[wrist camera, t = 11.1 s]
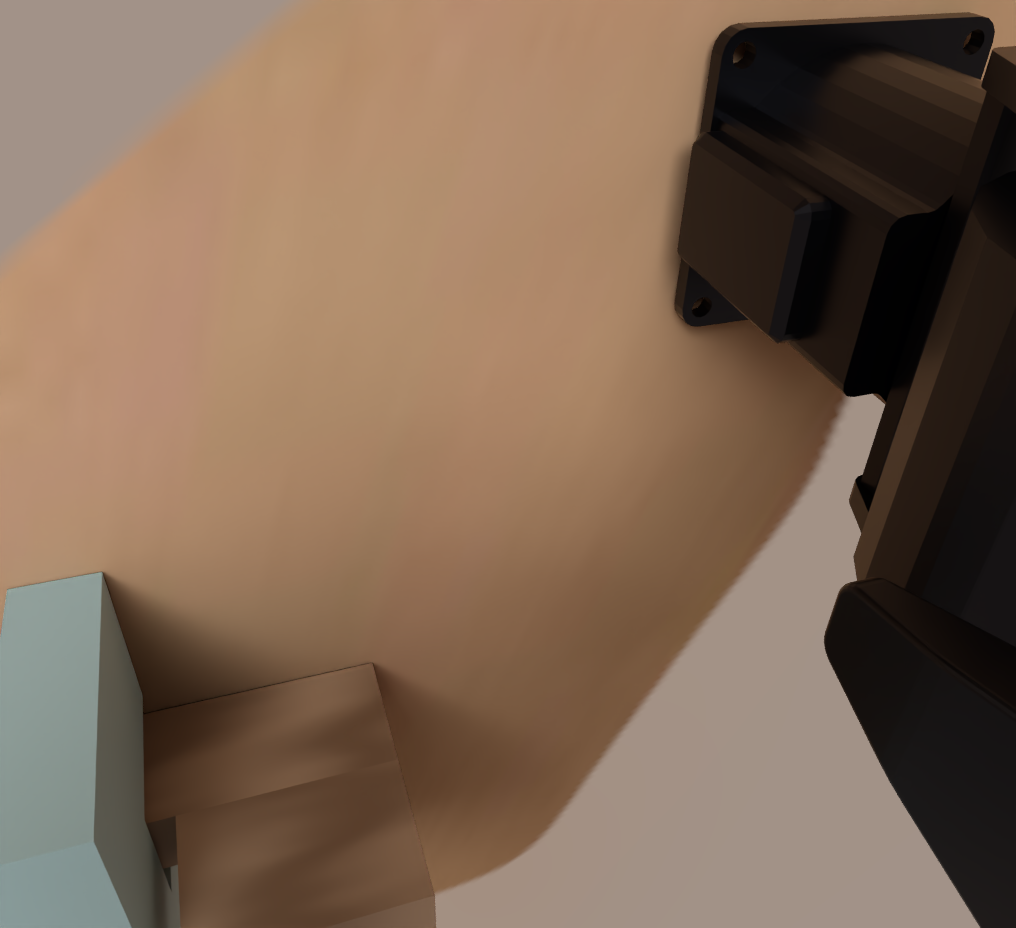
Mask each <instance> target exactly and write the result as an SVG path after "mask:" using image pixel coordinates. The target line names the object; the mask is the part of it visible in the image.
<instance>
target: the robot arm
mask: <svg viewBox="0 0 1016 928" xmlns="http://www.w3.org/2000/svg"><path fill="white" fill-rule="evenodd" d="M970 33H971V38H970V40H969V42H968V44H967V45H966V46H965V47H964V48H963V46H964V41H965V39H966V37H967V36H968V35H969V34H970ZM994 33H995V31H994V25H993V23H992V22H991V20H990V19H989V18H987V17H983V16H980V15H977V14H973V13H969V12H968V13H946V14H925V15H904V16H882V17H861V18H840V19H818V20H797V21H776V22H754V23H738V24H734V25H731V26H729V27H728V28H726V29H725V30H724V31H722V32H721V34H720V35H719V37H718V38H717V40H716V41H715V44H714V47H713V50H712V56H711V62H710V69H709V76H708V83H707V89H706V96H705V103H704V109H703V116H702V123H701V129H700V135H699V136H698V138H697V139H696V141H695V142H694V144H693V147H692V153H691V160H690V167H689V174H688V181H687V188H686V195H685V201H684V208H683V215H682V222H681V229H680V236H679V243H678V254H679V255H680V256H681V264H680V270H679V277H678V284H677V290H676V297H675V310H676V312H677V314H678V315H679V316H680V317H681V318H682V319H683V320H684V321H685V322H686V323H687V324H689V325H691V326H706V325H713V324H720V323H727V322H734V321H741V320H748V319H749V320H750V321H751V322H752V323H753V324H754V325H755V326H756V327H757V328H759V329H760V330H761V331H762V332H763V333H764V334H765V335H766V336H767V337H768V338H769V339H771V340H772V341H773V342H775V343H784V342H787V343H788V344H789V345H791V346H792V347H793V348H794V349H795V350H796V351H797V352H798V353H799V354H801V355H802V356H803V357H804V358H805V359H806V360H807V361H808V362H810V363H811V364H812V365H813V366H814V367H815V368H816V369H817V370H818V371H820V372H821V373H822V374H823V375H824V376H825V377H826V378H827V379H829V380H830V381H831V382H832V383H833V384H834V385H835V386H836V387H837V388H839V389H840V390H841V391H842V392H843V393H844V394H845V395H846V396H850V397H856V396H861V395H867V394H874V395H875V396H876V397H877V398H878V399H880V400H881V401H882V402H883V403H884V404H885V408H884V411H883V414H882V417H881V420H880V423H879V426H878V429H877V432H876V435H875V439H874V442H873V445H872V448H871V451H870V454H869V457H868V460H867V463H866V467H865V469H864V473H863V475H861V476H858V477H857V478H856V480H855V483H854V486H853V489H852V492H851V495H850V499H849V503H850V506H851V508H852V511H853V513H854V515H855V518H856V520H857V523H858V525H859V528H860V530H861V536H860V539H859V542H858V545H857V548H856V551H855V554H854V563H855V569H856V576H857V581H855V582H850V583H848V584H845V585H844V586H843V587H842V588H841V589H840V591H839V593H838V596H837V599H836V602H835V605H834V608H833V611H832V614H831V617H830V620H829V623H828V626H827V629H826V631H825V636H824V644H825V650H826V654H827V657H828V659H829V661H830V663H831V665H832V667H833V670H834V671H835V674H836V676H837V678H838V679H839V682H840V683H841V686H842V688H843V690H844V692H845V694H846V696H847V698H848V700H849V702H850V704H851V706H852V708H853V710H854V712H855V714H856V716H857V718H858V720H859V722H860V724H861V726H862V728H863V730H864V732H865V734H866V736H867V738H868V740H869V742H870V744H871V746H872V748H873V750H874V752H875V754H876V756H877V758H878V760H879V762H880V764H881V766H882V768H883V770H884V771H885V774H886V776H887V777H888V779H889V781H890V783H891V784H892V786H893V788H894V789H895V791H896V793H897V795H898V796H899V798H900V799H901V801H902V803H903V805H904V806H905V808H906V810H907V811H908V813H909V814H910V816H911V817H912V819H913V821H914V822H915V824H916V825H917V827H918V829H919V830H920V832H921V834H922V835H923V837H924V838H925V840H926V841H927V843H928V845H929V846H930V848H931V849H932V851H933V853H934V854H935V856H936V858H937V859H938V861H939V862H940V864H941V865H942V867H943V868H944V870H945V872H946V874H947V875H948V877H949V878H950V880H951V881H952V883H953V885H954V886H955V888H956V889H957V891H958V893H959V894H960V896H961V897H962V899H963V901H964V902H965V904H966V906H967V907H968V909H969V910H970V912H971V913H972V915H973V917H974V918H975V920H976V922H977V923H978V925H979V926H980V928H1016V46H1013V47H998V48H994V49H993V50H992V53H991V56H990V59H989V62H988V66H987V69H986V72H985V75H984V78H983V81H982V80H981V77H982V74H983V71H984V68H985V65H986V62H987V59H988V55H989V52H990V49H991V46H992V43H993V38H994ZM743 42H745V43H746V51H745V54H744V56H743V58H742V59H741V60H740V61H739V62H737V63H733V54H734V51H735V49H736V48H737V47H738V46H739V45H740V44H741V43H743ZM703 297H704V299H703V302H702V304H701V305H700V306H699V307H698V308H695V309H693V310H692V307H693V305H694V303H695V302H696V301H697V300H698V299H700V298H703Z"/></svg>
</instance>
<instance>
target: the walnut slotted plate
mask: <svg viewBox="0 0 1016 928" xmlns="http://www.w3.org/2000/svg"><path fill="white" fill-rule="evenodd" d="M143 751H144V817H145V822H146V825H147V828H148V830H149V833H150V836H151V838H152V841H153V844H154V847H155V849H156V852H157V855H158V857H159V860H160V863H161V865H162V868H163V869H164V868H168V867H172V866H175V865H178V882H179V904H180V926H181V928H436V916H435V915H436V914H435V894H434V891H433V887H432V883H431V879H430V876H429V872H428V868H427V865H426V861H425V857H424V853H423V850H422V846H421V842H420V838H419V835H418V831H417V827H416V824H415V820H414V816H413V812H412V809H411V805H410V801H409V798H408V794H407V790H406V786H405V783H404V779H403V775H402V771H401V768H400V764H399V760H398V757H397V753H396V749H395V745H394V742H393V738H392V734H391V730H390V727H389V723H388V719H387V716H386V712H385V708H384V704H383V701H382V697H381V693H380V690H379V686H378V682H377V678H376V675H375V671H374V667H373V663H369V664H365V665H360V666H356V667H352V668H347V669H343V670H338V671H334V672H329V673H325V674H320V675H316V676H312V677H307V678H303V679H298V680H294V681H289V682H285V683H280V684H276V685H272V686H267V687H263V688H258V689H254V690H249V691H245V692H240V693H236V694H232V695H227V696H223V697H218V698H214V699H209V700H205V701H200V702H196V703H192V704H187V705H183V706H178V707H174V708H169V709H165V710H160V711H156V712H152V713H147V714H143Z"/></svg>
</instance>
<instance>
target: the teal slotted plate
mask: <svg viewBox="0 0 1016 928" xmlns="http://www.w3.org/2000/svg"><path fill="white" fill-rule="evenodd" d="M0 928H181V926H180V904H179V882H178V865H175V866H172V867H168V868H164V869H163V868H162V865H161V863H160V860H159V857H158V855H157V852H156V849H155V847H154V844H153V841H152V838H151V836H150V833H149V830H148V828H147V825H146V822H145V817H144V751H143V695H142V692H141V689H140V686H139V683H138V680H137V677H136V674H135V671H134V668H133V665H132V662H131V659H130V655H129V652H128V649H127V646H126V643H125V640H124V637H123V634H122V631H121V628H120V625H119V622H118V619H117V616H116V613H115V610H114V607H113V604H112V601H111V597H110V594H109V591H108V588H107V585H106V582H105V579H104V576H103V573H102V572H99V573H93V574H88V575H82V576H77V577H72V578H66V579H61V580H56V581H50V582H45V583H39V584H34V585H29V586H23V587H18V588H12V589H7V595H6V602H5V609H4V615H3V622H2V629H1V636H0Z"/></svg>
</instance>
